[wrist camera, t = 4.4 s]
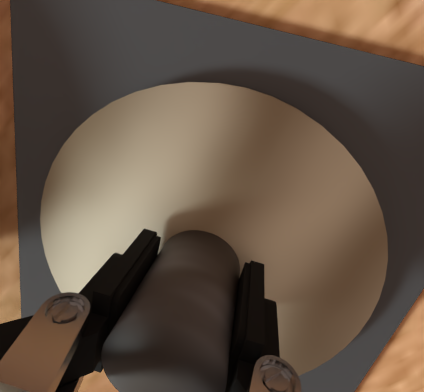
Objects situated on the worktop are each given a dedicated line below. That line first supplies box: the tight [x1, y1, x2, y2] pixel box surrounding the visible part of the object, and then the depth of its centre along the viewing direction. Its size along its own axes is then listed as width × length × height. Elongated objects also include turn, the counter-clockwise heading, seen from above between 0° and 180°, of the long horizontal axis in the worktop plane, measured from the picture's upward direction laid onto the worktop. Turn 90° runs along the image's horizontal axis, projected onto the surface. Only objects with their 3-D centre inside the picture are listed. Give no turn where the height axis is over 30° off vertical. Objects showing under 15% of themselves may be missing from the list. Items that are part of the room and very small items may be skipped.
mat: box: [10, 0, 424, 392], centre depth 14 cm, size 19×19×1 cm
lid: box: [40, 82, 388, 392], centre depth 11 cm, size 15×15×6 cm
